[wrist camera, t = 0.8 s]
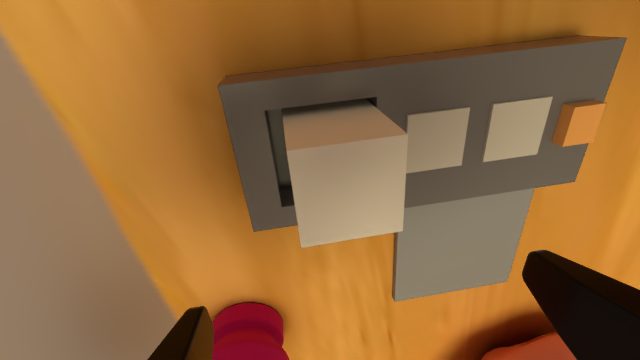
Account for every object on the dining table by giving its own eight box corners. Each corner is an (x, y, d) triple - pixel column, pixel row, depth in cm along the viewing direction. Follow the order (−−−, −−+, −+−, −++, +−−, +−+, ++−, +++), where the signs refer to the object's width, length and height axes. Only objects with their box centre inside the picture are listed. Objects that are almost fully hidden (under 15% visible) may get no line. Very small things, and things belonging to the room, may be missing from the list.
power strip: (570, 35, 19) (642, 38, 16) (535, 161, 24) (585, 187, 20) (227, 74, 18) (214, 88, 14) (256, 202, 22) (252, 239, 18)
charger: (362, 96, 18) (408, 134, 12) (364, 170, 21) (402, 232, 15) (281, 106, 18) (286, 151, 12) (292, 180, 20) (301, 249, 14)
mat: (531, 176, 24) (537, 179, 23) (502, 276, 29) (507, 281, 28) (396, 196, 23) (399, 201, 22) (392, 296, 28) (394, 301, 27)
